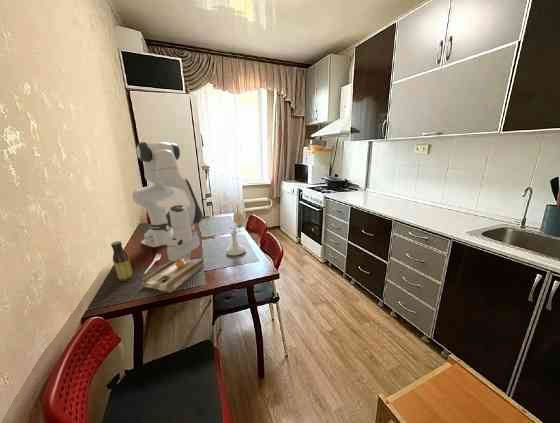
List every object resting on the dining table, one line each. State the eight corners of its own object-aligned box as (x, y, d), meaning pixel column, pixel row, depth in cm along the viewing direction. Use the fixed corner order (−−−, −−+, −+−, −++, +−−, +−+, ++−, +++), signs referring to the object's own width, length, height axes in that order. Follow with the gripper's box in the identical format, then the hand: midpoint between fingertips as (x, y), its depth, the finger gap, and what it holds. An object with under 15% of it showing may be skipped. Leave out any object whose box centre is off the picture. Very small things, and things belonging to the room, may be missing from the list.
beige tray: (143, 286, 109) (141, 279, 108) (180, 262, 130) (178, 255, 129) (170, 292, 104) (168, 284, 103) (203, 265, 125) (202, 259, 124)
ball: (174, 268, 119) (173, 261, 118) (180, 264, 122) (178, 258, 121) (180, 269, 118) (179, 262, 116) (186, 265, 121) (185, 259, 120)
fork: (141, 275, 120) (140, 272, 120) (156, 256, 139) (156, 253, 139) (148, 274, 121) (147, 271, 120) (162, 256, 139) (161, 253, 139)
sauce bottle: (123, 275, 119) (113, 240, 114) (135, 274, 120) (127, 239, 114) (115, 282, 113) (105, 245, 107) (129, 281, 114) (119, 244, 108)
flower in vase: (229, 259, 132) (224, 217, 124) (224, 251, 141) (219, 212, 134) (250, 253, 137) (247, 213, 130) (244, 246, 147) (240, 208, 140)
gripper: (191, 229, 131) (195, 251, 135) (163, 244, 112) (168, 269, 116) (200, 230, 129) (204, 252, 133) (173, 245, 110) (178, 271, 114)
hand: (187, 260), depth 124 cm, fingers closed
